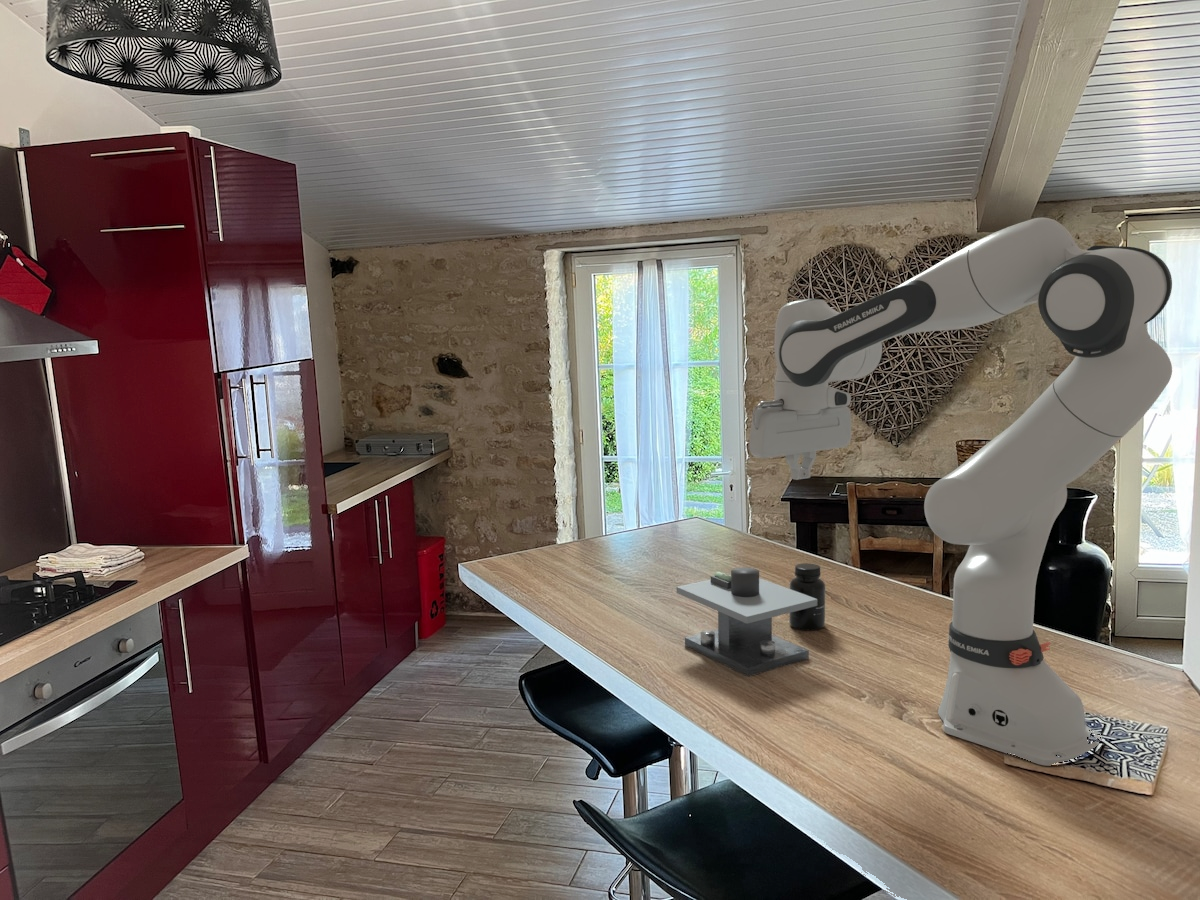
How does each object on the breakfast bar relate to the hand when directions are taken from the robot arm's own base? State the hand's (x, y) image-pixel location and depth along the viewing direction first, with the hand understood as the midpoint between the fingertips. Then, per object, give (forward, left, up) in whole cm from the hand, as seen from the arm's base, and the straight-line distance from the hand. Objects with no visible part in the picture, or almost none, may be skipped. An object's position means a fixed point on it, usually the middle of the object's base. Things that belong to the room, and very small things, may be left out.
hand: (800, 478), depth 158 cm
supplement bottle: (+14, -15, -33) cm, 39 cm away
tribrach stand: (+10, +4, -33) cm, 35 cm away
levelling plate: (+10, +4, -23) cm, 25 cm away
